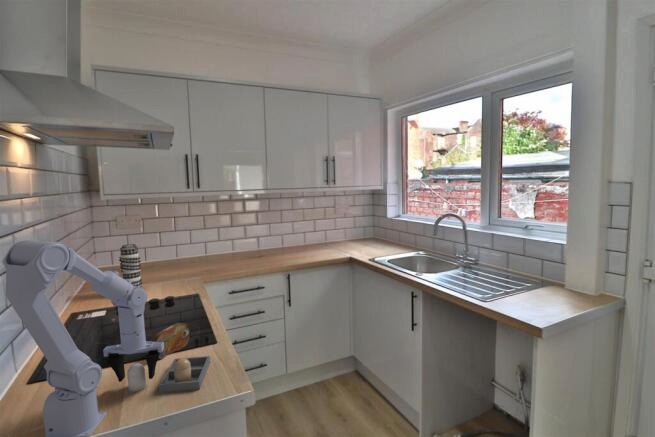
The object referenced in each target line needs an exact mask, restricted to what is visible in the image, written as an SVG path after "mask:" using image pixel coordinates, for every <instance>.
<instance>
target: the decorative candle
mask: <svg viewBox="0 0 655 437" xmlns="http://www.w3.org/2000/svg"><path fill="white" fill-rule="evenodd" d="M119 250H120V256H119V260H118V261H119V262H120V263H119V266H120V273H121V274H122V278H123V279H125V280H129V281H131V282H132V283H131V284H132V285H133V286H139V287H142V288H143V285H142V283H143V282H142V280H143V279H141V278H142V277H141V271H142V270H141V269H142V268H141V264H140V263H141V262H142V261H141V260H140V259H141V257H140V256H139V246H138V245H136V244H135V243H127V244H123V245H122V246H121V247H120V248H119Z"/></svg>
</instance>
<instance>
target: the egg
mask: <svg viewBox="0 0 655 437" xmlns="http://www.w3.org/2000/svg"><path fill="white" fill-rule="evenodd" d="M126 374H127V377H126V378H127V387H128V391H130V392H138V391H140V390H143V389H144V388H146V386H147V379H146V369H145V365H143V364H142V363H139V362H137V363H134V364H133V363H132V364H131V365H130V366H129V368H128V369H127V371H126Z"/></svg>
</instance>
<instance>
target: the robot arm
mask: <svg viewBox="0 0 655 437" xmlns="http://www.w3.org/2000/svg"><path fill="white" fill-rule="evenodd" d="M1 262H2V265H3V266H4V268H5V270H6V271H5V296H6V299H7V300H8V302H9V303H10V305H11V306H12V309H14V311H15V312H16V314H17V316H18V317H19V319H20V320H21V322H22V324H23V325H24V327H25V328H26V330H27V331H28V333H29V335H30V336H31V337H32V339H33V340H34V342H35V343H36V345H37V347H38V348H39V349H40V351H41V353H42V355H43V356H44V357H45V359H46V360H47V361H46V363H45V364H44V365H43V368H44V369H45V372H46V381H47V384H48V385H49V386H50V387H52V388H54V391H52V392H51V393H49V394H48V396H47V397H46V398H45V401H44V403H43V407H42V415H43V416H42V417H43V426H44V432H45V433H44V435H45V437H89V436H91V435H92V434H93V433H94V431H95V429H96V428H97V427H98V425H100V423H101V421H102V420H103V419H104V417H105V416H106V414H108V413H107V411H101V412H99V408H98V407H99V406H98V398H97V397H98V396H97V389H98V385H99V384H100V383H101V379H102V377H103V369H102V367H101V365H100V364H98V363H96V362H94V361H92V359H91V358H90V356H88V355H87V354H86V353H84V352H82V351H81V350H80V349H79V348H78V346H76V344H75V343H76V342H75V341H74V340H73V338H72V337H71V334H70V333H69V332H68V330H67V328H66V326H65V324H64V323H63V321H62V319H61V317H60V316H59V314H58V312H57V310H56V309H55V308H54V306H53V304H52V302H51V301H50V298H49V297H48V296H47V294H46V290H47V288H49V287H50V285H51V284H52V283H53V282H54V281H55V280H56V279H57V277H59V275H60V274H61V273H62V271H66V272H68V273H70V274H72V275H74V276H76V277H78V278H79V279H82V280H83V281H85V282H88V283H90V284H91V288H92V291H93V292H95V293H97V294H99V296H102V297H104V298H106V299H107V300H110V303H111V304H112V306H114V307H117V314H118V323H119V324H118V325H119V326H118V327H119V334H120V343H119V344H114V345H108V346H105V347H104V349H103V350H102V352H103V357H105V358H106V357H107V359H106V364H107V365H108V366H110V368H111V369H112V370H113V372H114V373H115V375H116V377H117V381H118V382H119V383H120V382H123V380H125V377H126V371H125V355H132V354H134V355H135V354H139V353H141V354H142V353H147V355H146V356H145V362H146V364H147V372H148V379H149V380H153V378H154V377H155V374H156V366H157V363H158V359H159V358H158V357H159V354H160V352H162V351H163V350H164V342H151V341H152V340H150V341H147V339H146V338H147V337H146V328H145V316H144V313H145V309H146V308H145V307H146V306H145V305H146V302H147V300H148V293H146V291H145V290H144V288H143V286H142V287H139V286H133V285H132V284H131V283H132V282H131V281H129V280H125V279H123V277H121V276H120V272H118V270H117V271H116V270H104V271H102V270H100V269H99V268H97V267H96V266H95V265H94V264H92V263H90V262H89V261H88V260H86V259H85V258H83V257H82V256H80V255H79V254H78V253H76V251H75V250H74V249H73V248H70V247H66V245H64V244H63V243H61V242H58V241H51V242H50V241H49V242H46V241H34V240H28V239H27V240H25V239H24V240H20V241H17V242H15V243H14V244H12V245H11V246H10V248H9V249H8V251H7V252H6V254H5V256H4V258H3V259H2V261H1Z"/></svg>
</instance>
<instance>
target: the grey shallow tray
mask: <svg viewBox="0 0 655 437" xmlns="http://www.w3.org/2000/svg"><path fill="white" fill-rule="evenodd" d="M182 358H183V357H180V358H174V359H173V361H172V362H171V364H170V366H169V367H168V368H167V371H166V373H165V374H164V376H163V378H162V379H161V380H160V382H159V384H158V392H159V394H162V393H163V394H164V393H176V392H184V391H185V392H186V391H196V390H198V391H199V390H201V387H202V385H203V382H204V380H205V377H206V375H207V373H208V369H209V367H210V365H211V356H210V355H205V356H194V357H193V356H192V357H184V358H185V359H188V360H189V362H190V364H191V378H192V381H188V382H176V383H175V376H174V365H175V363H176V361H178V360H179V359H182Z"/></svg>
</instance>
